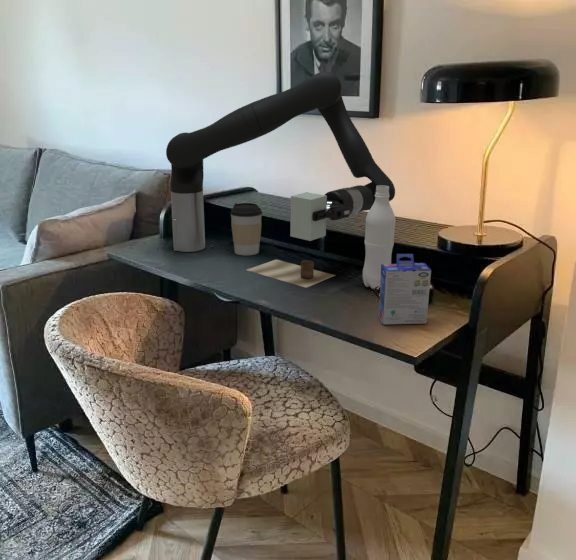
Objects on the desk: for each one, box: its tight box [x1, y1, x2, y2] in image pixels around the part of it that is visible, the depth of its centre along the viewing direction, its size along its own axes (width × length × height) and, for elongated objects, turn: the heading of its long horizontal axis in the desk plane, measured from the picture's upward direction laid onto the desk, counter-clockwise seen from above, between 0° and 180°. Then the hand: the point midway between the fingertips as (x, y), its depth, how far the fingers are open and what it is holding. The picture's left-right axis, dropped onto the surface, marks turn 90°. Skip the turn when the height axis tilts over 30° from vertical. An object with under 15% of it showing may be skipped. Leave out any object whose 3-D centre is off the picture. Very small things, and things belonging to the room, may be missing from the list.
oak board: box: [246, 259, 336, 288], centre depth 156 cm, size 20×12×5 cm, turn 50°
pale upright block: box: [289, 191, 327, 242], centre depth 148 cm, size 6×6×10 cm
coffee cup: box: [229, 202, 263, 256], centre depth 171 cm, size 9×9×15 cm
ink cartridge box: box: [378, 253, 432, 325], centre depth 129 cm, size 10×6×14 cm, turn 95°
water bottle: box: [362, 185, 397, 290], centre depth 147 cm, size 7×7×25 cm
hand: (302, 214), depth 146 cm, fingers closed on pale upright block, 6 cm apart
